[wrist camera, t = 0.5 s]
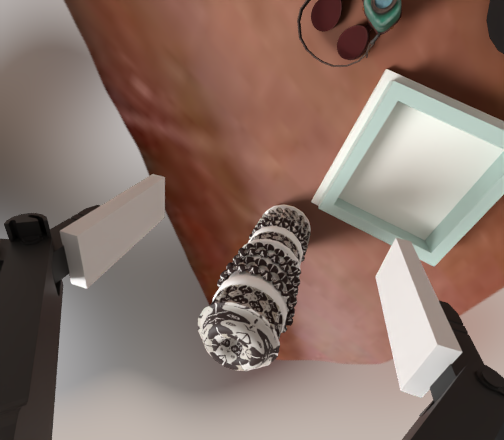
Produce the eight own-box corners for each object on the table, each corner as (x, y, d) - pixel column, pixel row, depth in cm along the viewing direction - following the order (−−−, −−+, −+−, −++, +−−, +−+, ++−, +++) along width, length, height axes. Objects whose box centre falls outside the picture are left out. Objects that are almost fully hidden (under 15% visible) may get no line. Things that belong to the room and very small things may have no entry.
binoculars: (269, 22, 27) (354, -103, 21) (294, 31, 36) (360, -57, 30) (332, 91, 28) (431, -11, 22) (342, 83, 36) (415, 8, 31)
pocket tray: (385, 69, 34) (390, 67, 30) (538, 137, 32) (565, 144, 28) (311, 199, 43) (308, 211, 39) (427, 257, 42) (436, 275, 38)
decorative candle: (322, 243, 46) (301, 384, 24) (272, 258, 50) (215, 389, 28) (299, 194, 43) (253, 300, 22) (249, 213, 47) (167, 319, 26)
